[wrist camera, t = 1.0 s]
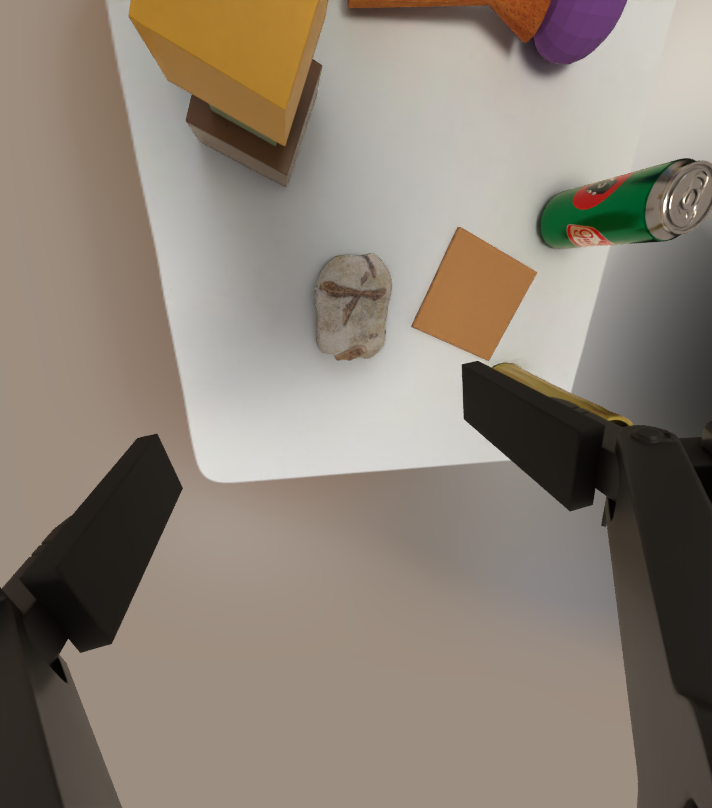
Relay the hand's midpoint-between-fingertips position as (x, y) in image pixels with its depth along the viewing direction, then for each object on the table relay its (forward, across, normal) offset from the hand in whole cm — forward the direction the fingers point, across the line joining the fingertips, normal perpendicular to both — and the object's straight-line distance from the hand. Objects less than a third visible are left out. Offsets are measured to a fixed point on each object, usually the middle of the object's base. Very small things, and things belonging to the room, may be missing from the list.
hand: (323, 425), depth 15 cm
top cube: (+11, +1, +17) cm, 20 cm away
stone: (+20, +5, +2) cm, 21 cm away
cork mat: (+20, +18, 0) cm, 27 cm away
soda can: (+20, +27, +6) cm, 35 cm away
